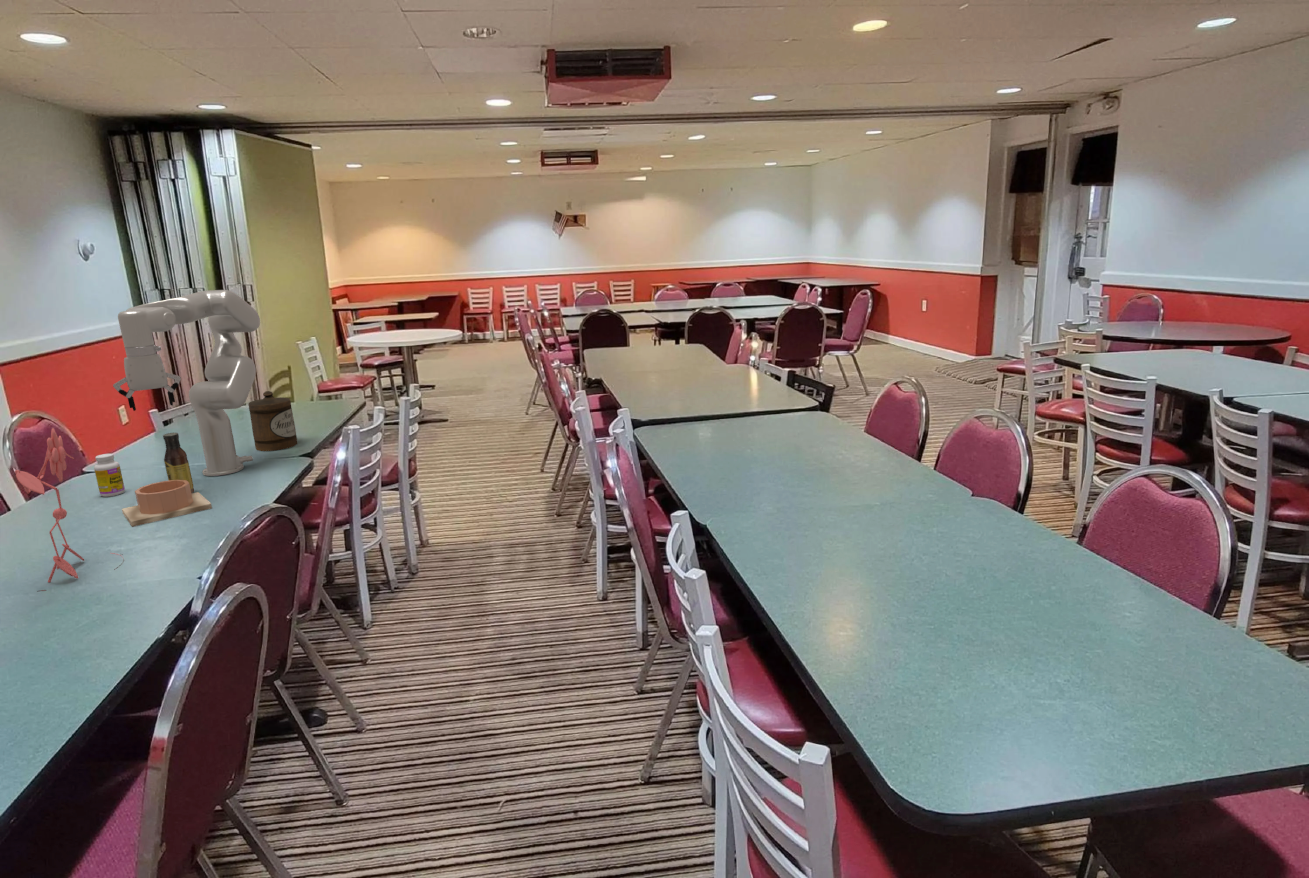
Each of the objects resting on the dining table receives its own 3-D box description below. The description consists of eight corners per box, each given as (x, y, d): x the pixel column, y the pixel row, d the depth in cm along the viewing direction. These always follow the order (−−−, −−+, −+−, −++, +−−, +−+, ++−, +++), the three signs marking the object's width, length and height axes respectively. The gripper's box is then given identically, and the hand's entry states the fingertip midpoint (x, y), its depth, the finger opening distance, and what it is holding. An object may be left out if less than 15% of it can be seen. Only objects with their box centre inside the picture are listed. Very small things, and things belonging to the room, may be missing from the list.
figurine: (34, 597, 167) (-2, 445, 158) (60, 557, 189) (29, 422, 181) (117, 582, 174) (86, 436, 165) (133, 546, 196) (106, 415, 187)
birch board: (199, 496, 234) (198, 492, 233) (212, 508, 222) (211, 503, 222) (122, 513, 221) (121, 508, 220) (132, 526, 209) (130, 521, 209)
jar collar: (186, 495, 230) (183, 477, 229) (197, 505, 221) (193, 486, 219) (136, 506, 222) (131, 487, 220) (144, 517, 212) (139, 497, 211)
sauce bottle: (174, 492, 239) (161, 432, 234) (196, 489, 241) (184, 430, 236) (169, 498, 233) (156, 437, 228) (192, 495, 235) (179, 434, 230)
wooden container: (286, 450, 285) (276, 394, 279) (248, 452, 285) (237, 395, 280) (304, 440, 299) (295, 386, 294) (268, 442, 299) (258, 388, 294)
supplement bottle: (112, 497, 236) (103, 458, 233) (95, 497, 238) (85, 458, 234) (130, 490, 243) (122, 452, 239) (113, 490, 244) (104, 452, 241)
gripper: (173, 347, 232) (184, 401, 237) (105, 354, 223) (118, 410, 227) (175, 349, 227) (187, 404, 231) (106, 356, 217) (119, 414, 221)
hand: (153, 407), depth 229 cm, fingers open, 9 cm apart
